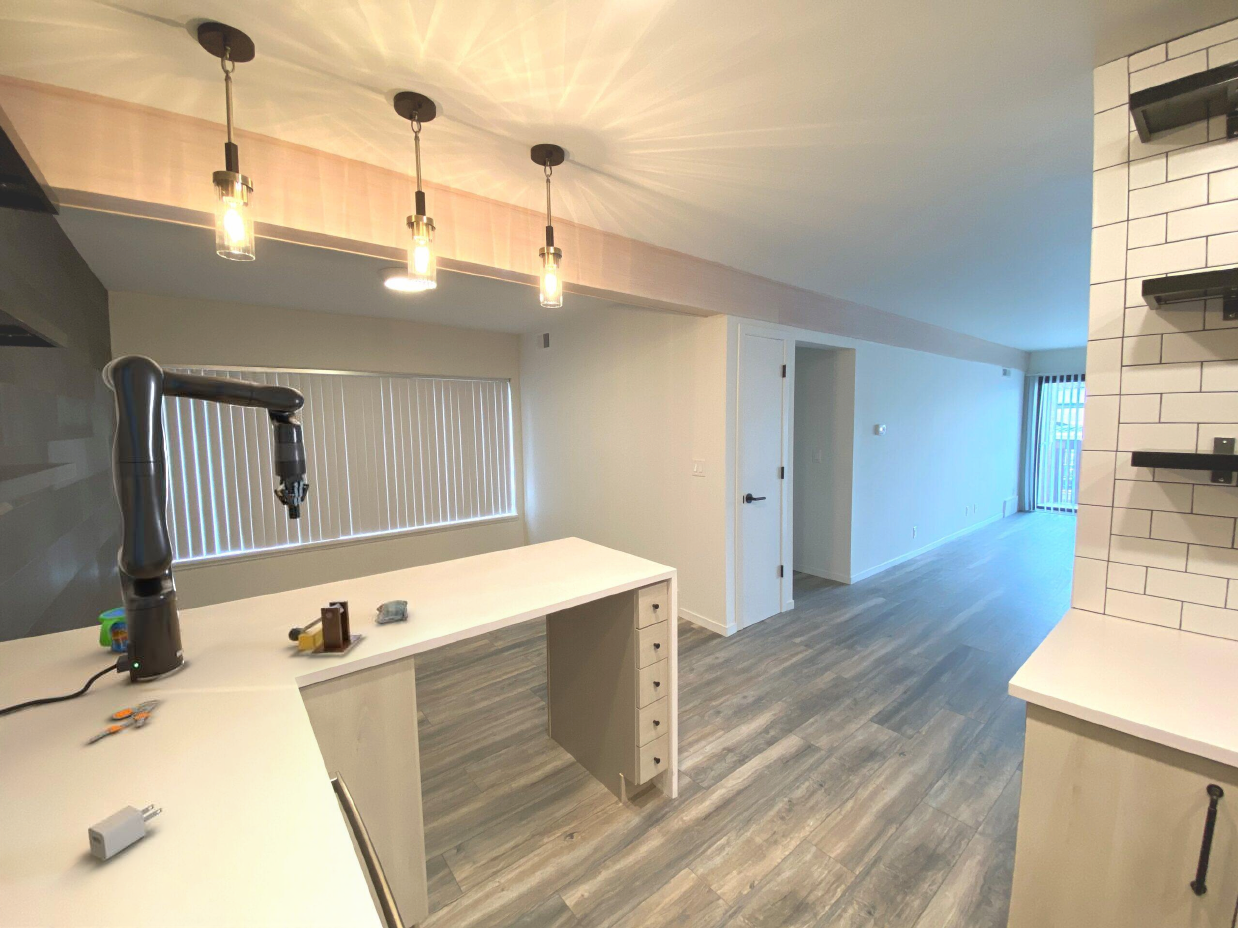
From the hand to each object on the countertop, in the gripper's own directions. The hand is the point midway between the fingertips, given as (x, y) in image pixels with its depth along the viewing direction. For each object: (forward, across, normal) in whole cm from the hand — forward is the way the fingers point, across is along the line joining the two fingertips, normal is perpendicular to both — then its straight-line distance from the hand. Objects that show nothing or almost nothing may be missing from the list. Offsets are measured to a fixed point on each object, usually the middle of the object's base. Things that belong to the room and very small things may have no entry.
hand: (294, 518), depth 145 cm
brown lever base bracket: (+32, +15, +18) cm, 40 cm away
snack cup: (+32, +11, -39) cm, 52 cm away
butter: (+32, +15, +11) cm, 37 cm away
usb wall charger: (+32, +76, +19) cm, 84 cm away
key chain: (+32, +46, -8) cm, 57 cm away
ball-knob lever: (+27, +15, +13) cm, 33 cm away
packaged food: (+32, -2, +25) cm, 41 cm away
